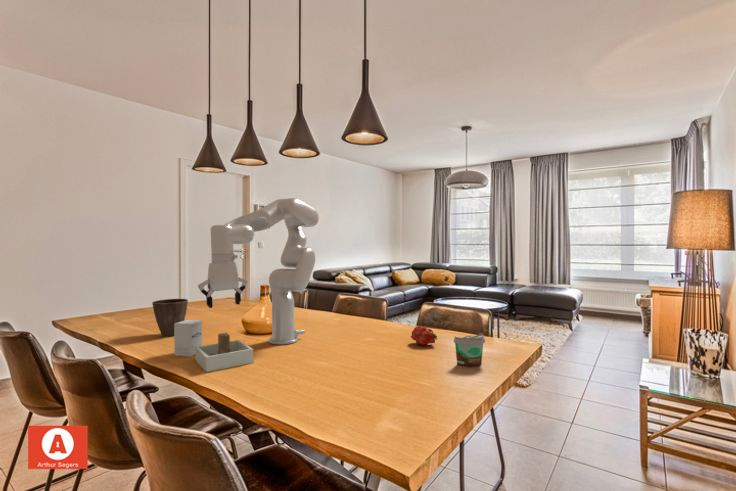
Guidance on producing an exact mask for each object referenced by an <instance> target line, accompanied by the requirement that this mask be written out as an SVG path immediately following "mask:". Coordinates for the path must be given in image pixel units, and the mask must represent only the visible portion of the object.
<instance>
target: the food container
mask: <svg viewBox="0 0 736 491" xmlns="http://www.w3.org/2000/svg"><path fill="white" fill-rule="evenodd" d="M453 338H454V339H453V343H454V344H455V345H454V346H455V356H456V365H458V366H461V367H467V368H476V367H480V366H481V365H482V360H483V352H484V351H483V349H484V344H485V343H486V337H485V336H484V334H483V333H482V332H478V334H477V335H466V336H463V337H460V336H459V337H458V336H454V337H453Z"/></svg>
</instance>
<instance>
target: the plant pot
mask: <svg viewBox="0 0 736 491" xmlns="http://www.w3.org/2000/svg"><path fill="white" fill-rule="evenodd" d="M188 302H189V299H188V298H168V299H167V298H166V299H158V300H154V301H152V302H151V303H152V308H153V314H154V317H155V321H156V325H157V327H158V329H159V332H160V334H161V336H162V337H165V336H168V337H174V324H175V323H178V322H181V321H185V320H186V315H187V310H188Z"/></svg>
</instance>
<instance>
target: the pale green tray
mask: <svg viewBox="0 0 736 491" xmlns="http://www.w3.org/2000/svg"><path fill="white" fill-rule="evenodd" d="M194 356H195V357H194V358H195V360H194V361H195V362H196V363H197V364H198V365H199V366H200V367H201V368H202V369H203V370H204V371H205V372H206V373H209V372H210V373H211V372H215V371H221V370H224V369H229V368H234V367H235V368H236V367H238V366H239V367H240V366H244V365H249V364H253V363H254V348H252V347H251V346H249V345H248V344H246V343H245V342H243V341H241V340H239V339H235V340H230V352H229V353H224V354H218V342H217V343H211V344H206V345H205V344H204V345H202V346H198V347H195V355H194Z"/></svg>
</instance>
